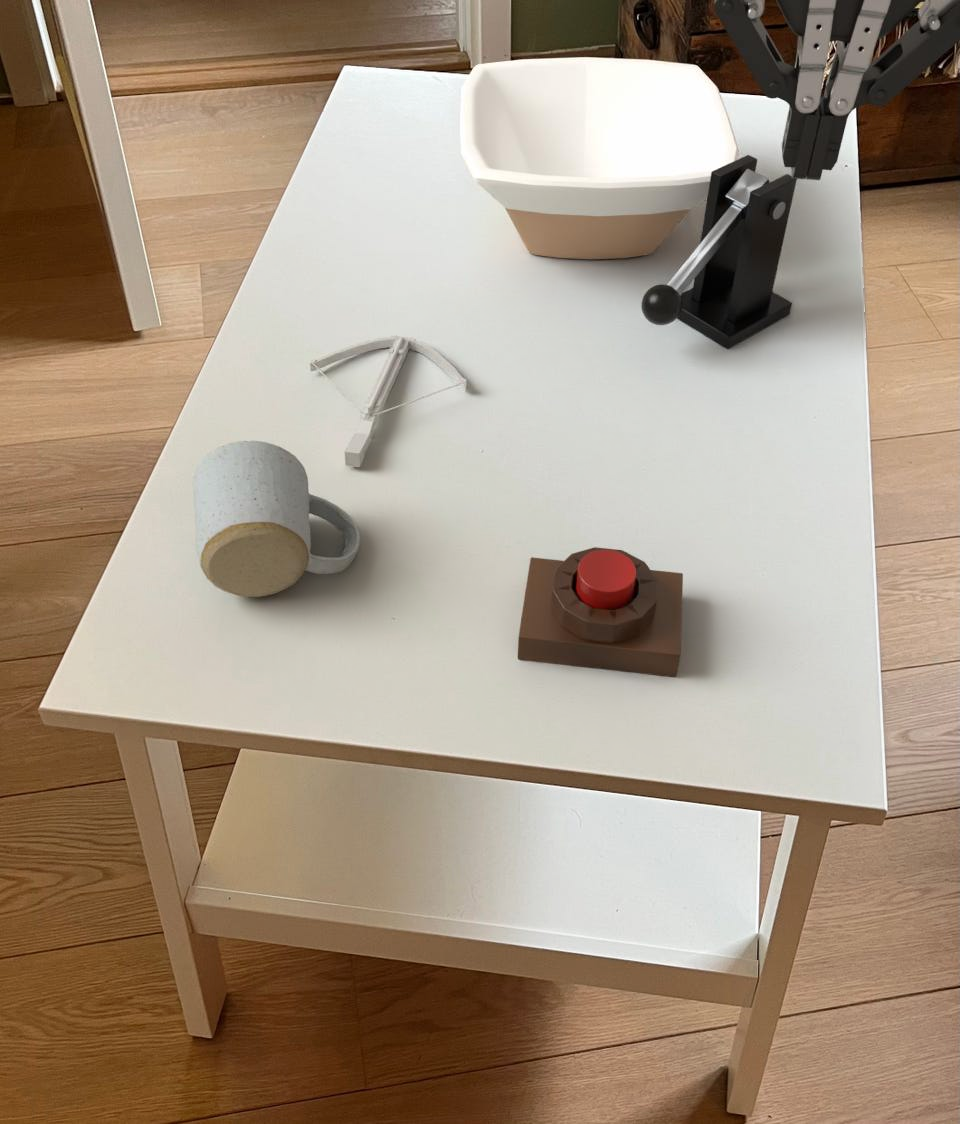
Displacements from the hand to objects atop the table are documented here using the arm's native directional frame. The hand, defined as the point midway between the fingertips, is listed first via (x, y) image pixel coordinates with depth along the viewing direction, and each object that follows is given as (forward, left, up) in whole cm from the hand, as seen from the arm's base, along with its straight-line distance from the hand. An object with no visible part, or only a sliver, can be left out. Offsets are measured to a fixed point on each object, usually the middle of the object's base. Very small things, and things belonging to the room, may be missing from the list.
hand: (805, 172), depth 64 cm
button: (+2, +13, -23) cm, 27 cm away
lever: (+15, -19, -21) cm, 32 cm away
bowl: (+32, -27, -27) cm, 50 cm away
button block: (+2, +13, -27) cm, 30 cm away
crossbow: (+28, +5, -27) cm, 40 cm away
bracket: (+14, -23, -27) cm, 38 cm away
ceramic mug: (+22, +22, -27) cm, 41 cm away
